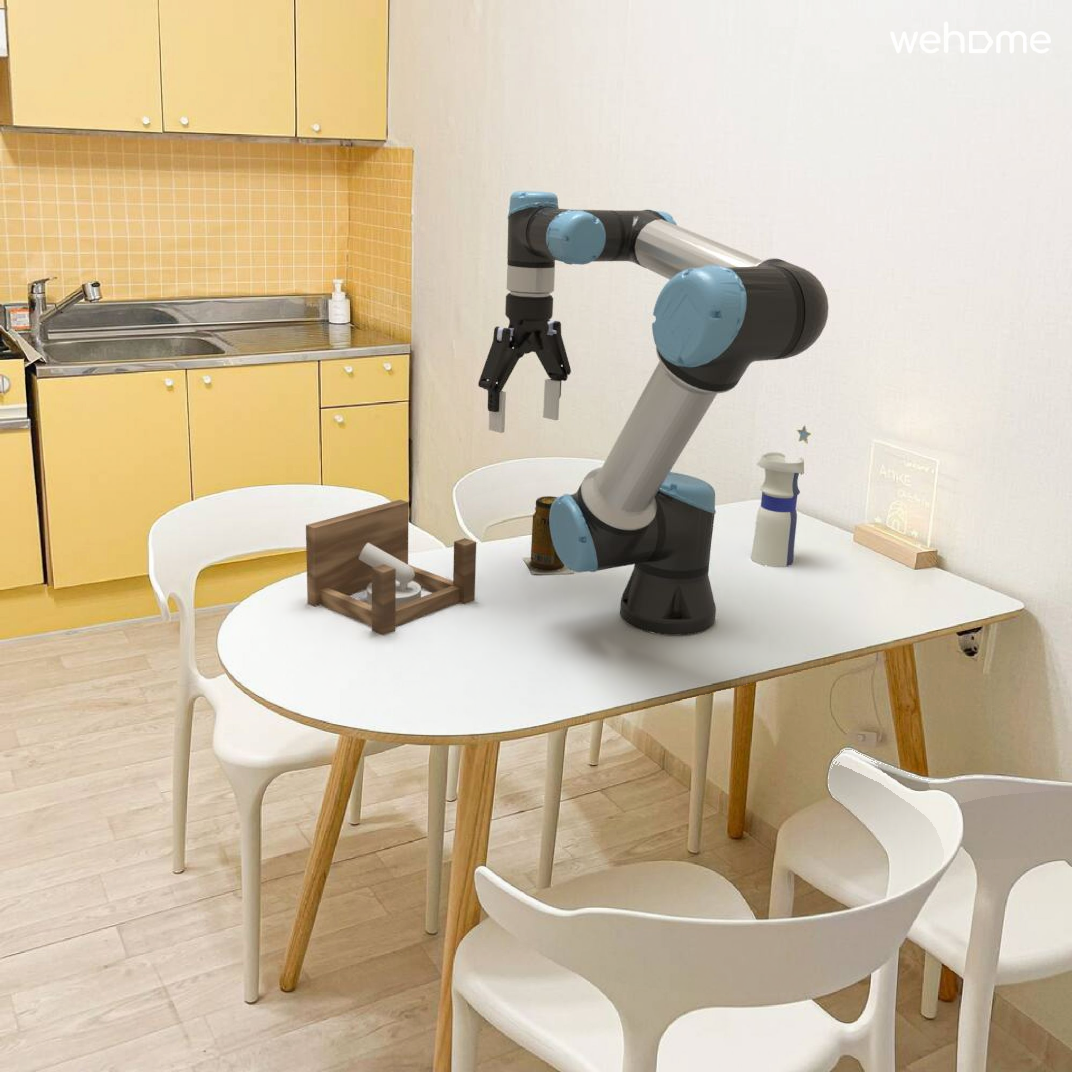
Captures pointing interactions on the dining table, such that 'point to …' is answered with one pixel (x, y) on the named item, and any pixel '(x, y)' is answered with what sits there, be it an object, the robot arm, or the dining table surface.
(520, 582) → the dining table surface
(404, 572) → the wall hook
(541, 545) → the condiment
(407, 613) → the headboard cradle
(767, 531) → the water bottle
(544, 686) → the dining table surface
